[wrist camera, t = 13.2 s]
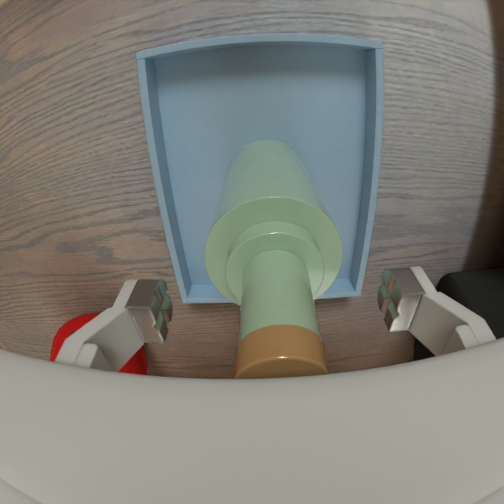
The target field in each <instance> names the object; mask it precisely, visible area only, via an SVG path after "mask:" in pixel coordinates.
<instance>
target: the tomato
mask: <svg viewBox="0 0 504 504" xmlns="http://www.w3.org/2000/svg"><path fill="white" fill-rule="evenodd" d="M99 314H101V313H93V314H84V315H81V316H78V317H76V318H74V319H72V320H70V321H68V322H66V323H65V324H64V325H63V326H62V327H61V328H59V330H58V332H57V334H56V335H55V337H54V339H53V344H52V349H51V356H50V361H53V362H54V361H55V359H56V357H57V355H58V353H59V351H60V349H61V347H62V345H63V343H64V341H65V339H67V338H68V337H69V336H71V335H72V334H73V333H75V332H76V331H77V330H79V329H80V328H81V327H83V326H84V325H85V324H87V323H88V322H90V321H91V320H92V319H94V318H95V317H96V316H98V315H99ZM147 366H148V365H147V360H146V355H145V350H144V348H143V347H141V348H140V349H139V350H138V351H137V352H136V353H135V354H134V355H133V356H132V357H131V358H130V359H129V360H128V361H127V363H126V364H125V365H124V366H123V367H122V368H121V369H120V370H119V371H118V372H121V373H130V374H139V375H147V372H146V371H147Z"/></svg>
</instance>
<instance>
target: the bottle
mask: <svg viewBox="0 0 504 504" xmlns="http://www.w3.org/2000/svg"><path fill="white" fill-rule="evenodd" d="M342 259H343V246H342V241H341V237H340V234H339V232H338V230H337V228H336V226H335V224H334V221H333V219H332V217H331V215H330V213H329V211H328V209H327V207H326V205H325V203H324V201H323V199H322V197H321V195H320V193H319V191H318V189H317V187H316V185H315V183H314V181H313V179H312V177H311V175H310V173H309V171H308V169H307V167H306V165H305V164H304V162H303V160H302V158H301V157H300V155H299V154H298V153H297V152H296V151H295V150H294V149H293V148H291V147H290V146H288V145H287V144H284V143H282V142H279V141H274V140H260V141H256V142H253V143H250V144H248V145H246V146H245V147H243V148H242V149H241V150H240V151H239V152H238V153H237V154H236V155H235V156H234V158H233V159H232V161H231V163H230V166H229V169H228V172H227V175H226V178H225V181H224V184H223V187H222V191H221V194H220V197H219V200H218V204H217V207H216V210H215V213H214V217H213V220H212V223H211V227H210V230H209V234H208V237H207V241H206V245H205V250H204V260H205V266H206V270H207V273H208V275H209V278H210V280H211V281H212V283H213V284H214V286H215V287H216V288H217V289H218V291H219V292H220V293H221V294H223V295H224V296H225V297H226V298H228V299H229V300H230V301H232V302H234V303H236V304H237V305H240V320H239V334H238V346H237V348H236V353H235V367H234V379H262V378H285V377H301V376H313V375H324V374H330V373H329V367H328V362H327V356H326V351H325V346H324V343H323V341H322V339H321V334H320V328H319V323H318V318H317V313H316V308H315V303H314V300H315V299H317V298H318V297H320V296H321V295H322V294H323V293H324V292H326V290H327V289H328V288H329V287H330V286H331V285H332V283H333V282H334V281H335V279H336V277H337V275H338V273H339V270H340V268H341V264H342Z"/></svg>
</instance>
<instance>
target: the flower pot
mask: <svg viewBox="0 0 504 504" xmlns="http://www.w3.org/2000/svg"><path fill="white" fill-rule="evenodd" d="M437 292H442V293H443V294H445V295H446V296H448V297H450V298H451V299H453V300H455V301H456V302H458V303H460V304H461V305H463V306H464V307H466V308H467V309H469V310H471V311H472V312H474V313H475V314H477V315H479V316H480V317H482V318H483V319H484V320H485V321H486V323H487V325H488V326H489V328H490V330H491V331H492V333H493V335H494V336H495V338H496V340H497V339H500V338H503V337H504V268H495V269H486V270H476V271H466V272H456V273H449V274H447V275H445V276H444V277H443V278H442V280H441V281H440V284H439V287H438V290H437ZM431 357H436V356H435V355H434V354H433V353H432V352H431V351H430V350H429V349H428V348H427V347H426V346H424V345H423V344H422V343H421V342H420V341H419V340H418V339H416V342H415V344H414V361H417V360H422V359H427V358H431Z"/></svg>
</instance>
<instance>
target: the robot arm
mask: <svg viewBox="0 0 504 504" xmlns="http://www.w3.org/2000/svg"><path fill="white" fill-rule="evenodd" d="M382 280H383V282H384V283H383V284H382V285H381V286H380V287H379V290H378V305H379V308H380V311H381V312H383V313H384V314H386V315H385V318H384V320H385V323H386V325H387V328H388V330H389V332H395V331H404V330H409V332H410V333H411V334H412V335H414V336H415V337H416V338H417V339H418V340H419V341H420V342H421V343H422V344H423V345H424V346H426V347H427V348H428V349H429V350H430V351H431V352H432V353H433V354H434V355H435V356H436V357H431V358H427V359H422V360H417V361H412V362H407V363H402V364H397V365H391V366H385V367H379V368H372V369H366V370H358V371H351V372H343V373H334V374H324V375H313V376H301V377H285V378H262V379H200V378H178V377H162V376H150V375H139V374H130V373H121V372H118V371H119V370H120V369H121V368H122V367H123V366H124V365H125V364H126V363H127V361H128V360H129V359H130V358H131V357H132V356H133V355H134V354H135V353H136V352H137V351H138V350H139V349H140V348H141V347H142V346H143V345H144V343H165V340H166V336H167V333H168V328H167V324H168V323H169V322H170V321H171V318H172V311H173V307H172V301H171V298H170V296H168V295H167V294H166V291H167V285H166V282H165V281H164V280H156V279H139V280H127V281H125V283H124V285H123V287H122V289H121V291H120V293H119V295H118V297H117V299H116V300H115V302H114V304H113V307H112V308H107V309H106V310H105V311H103V312H102V313H101V314H99V315H98V316H96V317H95V318H94V319H92V320H91V321H90V322H88V323H87V324H85V325H84V326H83V327H81V328H80V329H79V330H77V331H76V332H75V333H73V334H72V335H71V336H69V337H68V338H67V339H65V341H64V343H63V345H62V347H61V349H60V351H59V353H58V355H57V357H56V359H55V361H54V362H53V361H48V360H44V359H39V358H35V357H31V356H27V355H23V354H19V353H15V352H11V351H8V350H4V349H1V348H0V504H504V337H503V338H500V339H497V340H496V338H495V336H494V335H493V333H492V331H491V330H490V328H489V326H488V325H487V323H486V321H485V320H484V319H483V318H482V317H480V316H479V315H477V314H475V313H474V312H472V311H471V310H469V309H467V308H466V307H464V306H463V305H461V304H460V303H458V302H456V301H455V300H453V299H451V298H450V297H448V296H446V295H445V294H443V293H442V292H437V291H436V289H435V288H434V286H433V284H432V283H431V281H430V280H429V278H428V277H427V275H426V274H425V272H424V271H423V269H422V268H421V267H420V266H414V267H407V268H396V269H385V270H384V272H383V274H382Z"/></svg>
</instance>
